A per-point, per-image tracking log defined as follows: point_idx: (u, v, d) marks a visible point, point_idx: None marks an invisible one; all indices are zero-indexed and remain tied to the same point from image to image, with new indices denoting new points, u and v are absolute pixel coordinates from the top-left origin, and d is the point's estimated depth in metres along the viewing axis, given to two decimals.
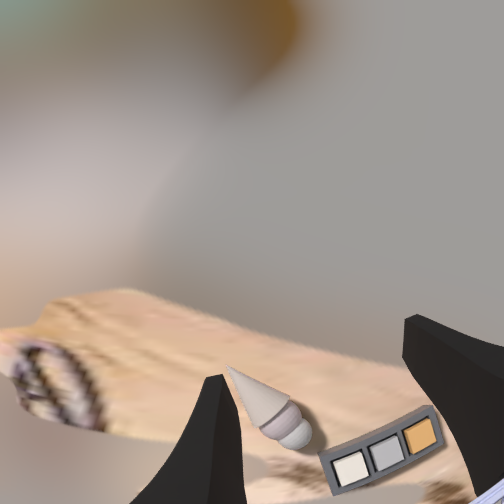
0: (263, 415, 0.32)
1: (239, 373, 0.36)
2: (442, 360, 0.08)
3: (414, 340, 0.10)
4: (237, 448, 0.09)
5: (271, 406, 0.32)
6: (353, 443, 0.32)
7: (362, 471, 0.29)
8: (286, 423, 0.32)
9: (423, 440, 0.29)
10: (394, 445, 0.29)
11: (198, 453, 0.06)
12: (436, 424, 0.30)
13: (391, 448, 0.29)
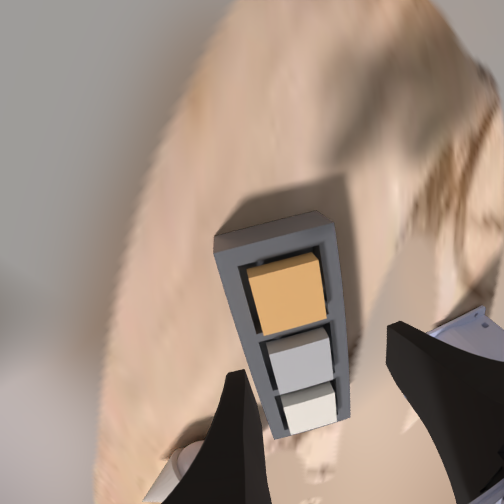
0: None
1: (149, 497, 0.21)
2: (423, 369, 0.08)
3: (396, 348, 0.10)
4: (260, 443, 0.09)
5: None
6: None
7: (320, 401, 0.19)
8: None
9: (302, 295, 0.16)
10: (288, 359, 0.17)
11: (228, 448, 0.06)
12: (272, 244, 0.16)
13: (292, 363, 0.17)
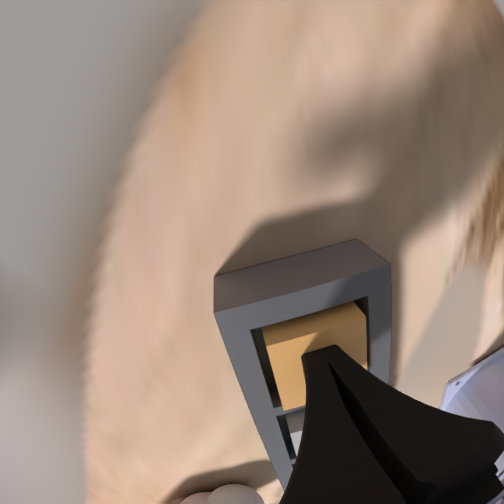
0: None
1: None
2: (347, 401, 0.08)
3: None
4: None
5: None
6: None
7: None
8: None
9: None
10: None
11: (336, 422, 0.06)
12: (302, 298, 0.10)
13: None
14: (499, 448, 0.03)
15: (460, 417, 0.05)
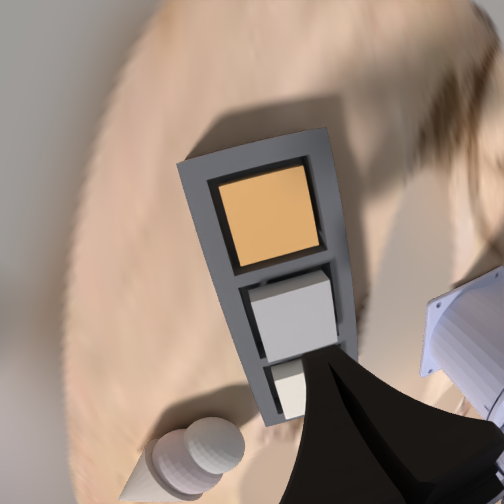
0: (179, 501, 0.16)
1: (124, 495, 0.18)
2: (346, 401, 0.08)
3: None
4: None
5: (162, 496, 0.16)
6: None
7: None
8: (189, 484, 0.16)
9: (286, 211, 0.13)
10: (276, 309, 0.13)
11: (336, 422, 0.06)
12: (249, 151, 0.12)
13: (283, 317, 0.14)
14: (499, 448, 0.03)
15: (460, 417, 0.05)
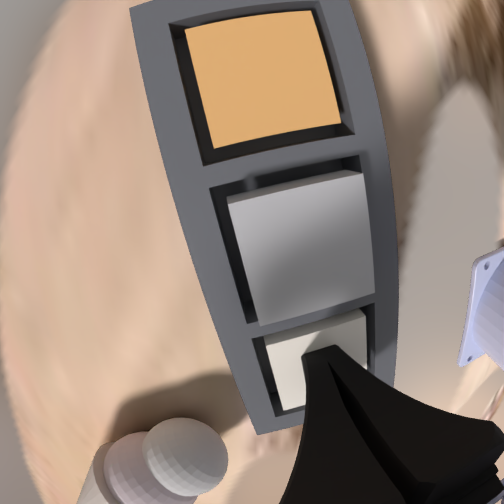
0: None
1: None
2: (346, 401, 0.08)
3: None
4: None
5: None
6: None
7: (340, 336, 0.10)
8: None
9: (287, 66, 0.07)
10: (273, 221, 0.08)
11: (336, 422, 0.06)
12: None
13: (285, 237, 0.08)
14: (499, 448, 0.03)
15: (460, 417, 0.05)
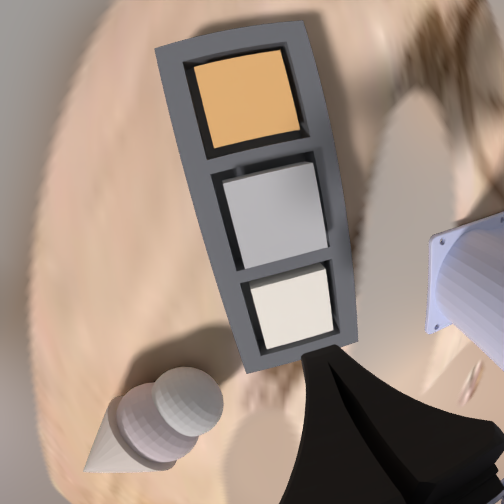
0: (145, 470, 0.15)
1: (88, 465, 0.16)
2: (346, 401, 0.08)
3: None
4: None
5: (125, 461, 0.14)
6: None
7: (306, 284, 0.14)
8: (155, 446, 0.14)
9: (263, 92, 0.11)
10: (252, 194, 0.12)
11: (336, 422, 0.06)
12: (226, 36, 0.10)
13: (260, 205, 0.12)
14: (499, 448, 0.03)
15: (460, 417, 0.05)
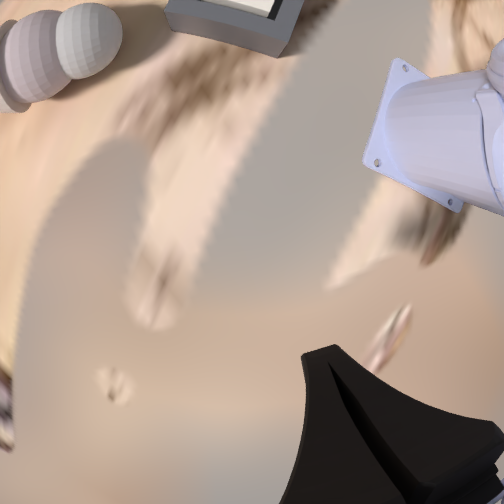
0: None
1: None
2: (346, 401, 0.08)
3: None
4: None
5: None
6: None
7: None
8: (26, 31, 0.08)
9: None
10: None
11: (336, 422, 0.06)
12: None
13: None
14: (499, 448, 0.03)
15: (460, 417, 0.05)
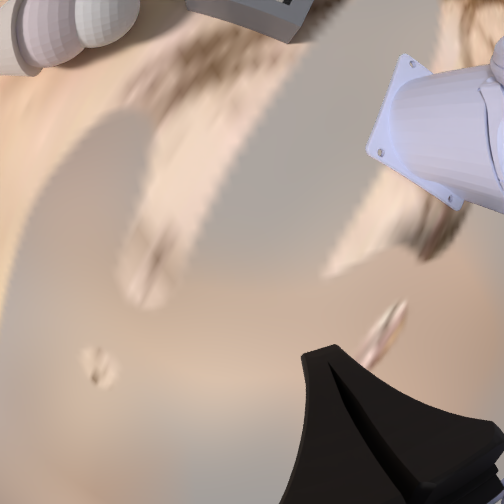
0: (0, 31, 0.07)
1: None
2: (346, 401, 0.08)
3: None
4: None
5: (2, 11, 0.07)
6: None
7: None
8: None
9: None
10: None
11: (336, 422, 0.06)
12: None
13: None
14: (499, 448, 0.03)
15: (460, 417, 0.05)
